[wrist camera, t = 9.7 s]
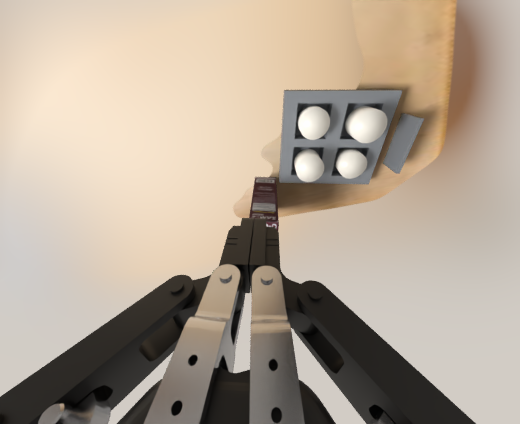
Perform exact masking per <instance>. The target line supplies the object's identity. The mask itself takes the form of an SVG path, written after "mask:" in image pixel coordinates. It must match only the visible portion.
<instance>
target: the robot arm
mask: <svg viewBox="0 0 520 424" xmlns="http://www.w3.org/2000/svg"><path fill="white" fill-rule="evenodd" d="M250 285H251V293H252V317H251V319H252V320H251V349H250V352H251V353H250V356H251V357H250V370H247V371H244V372H240V373H233V368H234V361H235V349H236V343H237V338H238V333H239V328H240V322H241V317H242V312H243V307H244V306H243V304H244V299H245V293H250ZM291 328H293V329H294V331H295V333H296V334H297V335H298V336H299V338H300V339H301V340H302V342H303V343H304V344H305V346H306V347H307V348H308V349H309V351H310V352H311V353H312V355H313V356H314V357H315V358H316V360H317V361H318V362H319V363H320V365H321V366H322V367H323V368H324V370H325V371H326V372H327V374H328V375H329V376H330V378H331V379H332V380H333V381H334V383H335V384H336V385H337V386H338V388H339V389H340V390H341V392H342V393H343V394H344V395H345V397H346V398H347V399H348V401H349V402H350V403H351V404H352V406H353V407H354V408H355V409H356V411H357V412H358V413H359V414H360V416H361V417H362V418H363V420H364V421H365V422H366V424H476V423H475V422H473V421H472V420H471V419H470V418H469V417H468V416H467V415H466V414H464V412H462V411H461V410H460V409H459V408H458V407H457V406H456V405H455V404H454V403H453V402H451V401H450V400H449V399H448V398H447V397H446V396H445V395H444V394H443V393H442V392H441V391H439V390H438V389H437V388H436V387H435V386H434V385H433V384H432V383H430V382H429V381H428V380H427V379H426V378H425V377H424V376H423V375H422V374H421V373H420V372H419V371H417V370H416V369H415V368H414V367H413V366H412V365H411V364H410V363H408V361H406V360H405V359H404V358H403V357H402V356H401V355H400V354H399V353H398V352H397V351H395V350H394V349H393V348H392V347H391V346H390V345H389V344H387V342H386V341H384V340H383V339H382V338H381V337H380V336H379V335H378V334H377V333H376V332H374V330H372V329H371V328H370V327H369V326H368V325H366V323H365V322H364V321H363V320H361V319H360V318H359V317H358V316H357V315H356V314H355V313H354V312H353V311H352V310H350V309H349V308H348V307H347V306H346V305H345V304H344V303H343V302H342V301H341V300H339V299H338V298H337V297H336V296H335V295H334V294H333V293H332V292H331V291H330V290H329V289H327V288H326V287H325V286H324V285H323V284H321V283H319V282H317V281H306V282H304V283H302V284H299V283H296V282H294V281H291V280H289V279H288V278H286V277H285V276H284V275H283V274H282V272H281V269H280V255H279V233H278V231H277V230H276V228H275V227H266V219H265V218H255V221H254V218H242V221H241V226H233V227H232V228H231V229H230V230H229V232H228V236H227V239H226V243H225V246H224V250H223V253H222V257H221V261H220V264H219V267H217V268H216V269H215V270H214V271H213V272H212V274H211V275H210V276H207V277H205V278H201V279H197V280H193V281H192V279H191V278H190V277H189V276H186V275H178V276H174V277H172V278H171V279H169V280H168V281H166V282H165V283H163V284H162V285H160V286H159V287H157V288H156V289H155V290H153V291H152V292H150V293H149V294H147V295H146V296H145V297H143V298H142V299H140V300H139V301H137V302H136V303H135V304H133V305H132V306H130V307H129V308H127V309H126V310H124V311H123V312H122V313H120V314H119V315H117V316H116V317H114V318H113V319H112V320H110V321H109V322H107V323H106V324H104V325H103V326H101V327H100V328H99V329H97V330H96V331H94V332H93V333H91V334H90V335H88V336H87V337H86V338H84V339H83V340H81V341H80V342H78V343H77V344H75V345H74V346H73V347H71V348H70V349H69V350H67V351H65V352H64V353H63V354H61V355H60V356H58V357H57V358H55V359H54V360H52V361H51V362H50V363H48V364H47V365H45V366H44V367H42V368H41V369H40V370H38V371H37V372H35V373H34V374H32V375H31V376H29V377H28V378H27V379H25V380H24V381H22V382H21V383H20V384H18V385H17V386H15V387H14V388H12V389H11V390H9V391H8V392H6V393H5V394H4V395H2V396H1V397H0V424H108V422H109V418H110V412H111V410H112V409H113V408H114V407H115V406H117V404H119V403H120V402H121V401H122V400H123V399H124V398H125V397H126V396H127V395H128V394H129V393H130V392H131V391H132V390H133V389H134V388H135V387H136V386H137V385H138V384H140V383H141V382H142V381H143V380H144V379H145V378H146V377H147V376H148V375H149V374H150V373H151V372H152V371H153V370H154V369H155V368H156V367H157V366H158V365H159V364H160V363H162V362H163V361H164V360H165V359H166V358H167V357H168V356H169V355H170V354H171V353H172V352H173V351H174V353H173V355H172V357H171V360H170V362H169V365H168V367H167V369H166V372H165V374H164V376H163V379H161V380H160V381H158V382H157V383H156V384H155V385H154V386H153V387H151V389H149V390H148V392H146V393H145V395H144V396H143V397H142V398H141V399H140V400H139V401H138V402H137V403H136V404H135V405H134V406H133V407H132V408H131V409H130V410H129V411H128V413H126V415H125V416H124V417H123V418H122V419H121V420H120V421H119V422H118V423H117V424H336V423H335V422H334V420H333V419H332V417H331V416H330V414H329V413H328V411H327V410H326V408H325V407H324V405H323V404H322V402H321V401H320V399H319V398H318V397H317V396H316V394H315V393H314V392H313V391H312V390H311V389H310V388H309V387H308V386H307V385H305V384H304V383H303V382H302V381H300V380H299V379H298V374H297V367H296V360H295V353H294V346H293V339H292V332H291Z"/></svg>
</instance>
